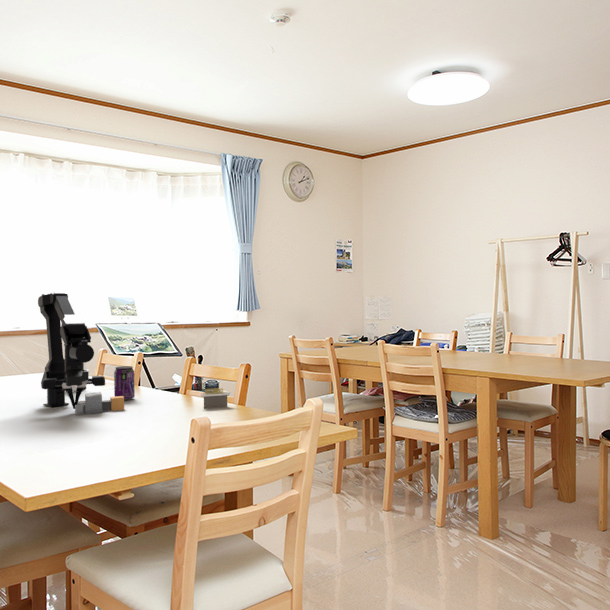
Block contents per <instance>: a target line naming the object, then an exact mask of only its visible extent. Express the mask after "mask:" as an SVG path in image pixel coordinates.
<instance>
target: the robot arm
mask: <svg viewBox="0 0 610 610" xmlns="http://www.w3.org/2000/svg"><path fill="white" fill-rule="evenodd" d="M37 305H38V307H39V312H40V314H41V315H42V316H43V318H44V319H45V322H46V335H47V349H48V361H47V363H46V365H45V367H44V372H43V374H42V378H41V382H40V387H41V389H42V390H46V402H47V403H43V404H42V406H45V407H49V408H53V407H60V406H61V407H62V406H68V405H70V404H71V406H72V409H73V410H75V405H77V403H78V401H80V397H81V394H82V392H83V391H84V390H83V389H85V390H86V389H87V385H93V386H94V387H103V386H106V377H105V376H104V375H92V376H91V378H90V377H89V369H86V370H84V363H85V364H86V363H88V362H90V361H91V360H93V359H94V356H95V350H94V348H93V346H92V345H90V344H88V343H91V342H92V341H91V339H92V337H91V333H90V332H89V328H88V326H87V325H86V323H85V322H84V321H83V319H82V318H80V317H78V316H77V315H76V314H75V311H74V309H73V307H72V305H71V303H70V301H69V296H68V293H67V292H65V291H62V292H61V291H57V292H56V291H53V292H50V293H42V294H41V295H39V297H38V299H37ZM63 343H64V344H63ZM63 347H64V350H63ZM72 385H77V389H76V391H75V395H74V391H73V388H72ZM66 393H67V396H68V397H69V400H70V402H66Z"/></svg>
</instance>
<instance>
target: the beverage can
mask: <svg viewBox="0 0 610 610" xmlns="http://www.w3.org/2000/svg"><path fill="white" fill-rule="evenodd" d="M133 368H134V366H130V365H129V366H128V365H127V366H126V365H125V366H116V367H115V369H114V372H113V373H114V374H113V378H114V383H113V384H114V387H113V388H114V389H113V390H114V391H113V392H114V397H116V396H123V397H124V401H130V400H132V399H134V398H135V396H136V395H135V394H136V393H135V370H134V369H133Z"/></svg>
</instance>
